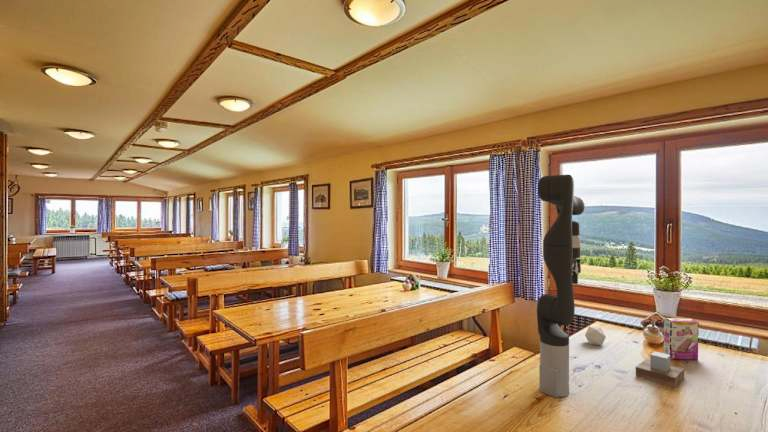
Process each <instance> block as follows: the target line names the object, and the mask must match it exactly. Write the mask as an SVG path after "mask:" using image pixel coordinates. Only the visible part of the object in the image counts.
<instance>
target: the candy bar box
mask: <svg viewBox="0 0 768 432" xmlns="http://www.w3.org/2000/svg"><path fill="white" fill-rule="evenodd" d="M699 325H700V324H699V321H697V320H695V319H693V318H680V317H679V318H677V317H676V318H675V317H663V342H662V343H663V349H662V351H663V352H662V353H664V354H668V355H670V360H687V361H690V360H691V361H698V360H699Z"/></svg>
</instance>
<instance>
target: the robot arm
mask: <svg viewBox="0 0 768 432" xmlns="http://www.w3.org/2000/svg"><path fill="white" fill-rule="evenodd" d="M574 194H575V181H574V177H573V175H572V174H554V175H544V176H542V177H540V179H539V180H538V183H537V195H538V197H539V199H540V200H541V201H542V202H546V203H550V204H551V205H554V206H555V209H556V213H557V215H558V216H557V217H556V219H555V221H554V222H553V223H552V225H551V226H550V228H549V229H548V231H547V232H546V233H545V235H544V237H543V240H542V242H543V243H542V251H543V252H542V257H543V260H544V264H545V265H546V267H547V269H548V271H549V273H550V275H551V277H552V279H553V281H554V284H555V288H556V295H554V294H546V293H545V294H542V295H541V296H540V297H539V298H538V301H537V305H536V319H537V332H538V335H539V392H540V393H542V394H546V395H548V396H550V397H553V398H556V399H558V398H565V397H568V396H569V395H570V337H569V335H568V333H567V332H565V331H564V330H562V329H561V328H560V326H566V327H567V326H569V325H571V324H572V322H573V321H574V318H575V311H576V309H575V296H574V287H573V286H574V285H577V284H578V283H579V275H580V274H581V272H582V268H581V259H580V258H581V236H580V222H578V221H576V220H573V216H580V215H582V214H583V213H584V211H585V202H584V200H583V199H582V198H581V197H578V196H576V195H574ZM559 325H560V326H559Z"/></svg>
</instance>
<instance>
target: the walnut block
mask: <svg viewBox="0 0 768 432" xmlns="http://www.w3.org/2000/svg"><path fill="white" fill-rule="evenodd" d="M636 376H637V378H641V379H643V378H644V379H643V380H647V381H650V382H654V383H657V384H661V385H665V386H668V387H671V388H674V389H675V388H676V387H678V385H679V384H680V383H681V382H682V381H683V380H684V379H685V368H682V367H679V366H675V365H671V364H670V369H669V370H668V371H667V372H664V371H661V370H657V369H653V368H650V359H648V358H646V359H644V360H643V361H641V362H640V363H639V364H638V365H636V366H635V377H636Z"/></svg>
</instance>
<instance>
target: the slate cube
mask: <svg viewBox="0 0 768 432" xmlns="http://www.w3.org/2000/svg"><path fill="white" fill-rule="evenodd" d="M649 355H650V358H649V360H650V368H653V369H657V370H661V371H664V372H667V371H668V370H669V369H670V365H671V359H670V355H668V354H664V353H663V352H658V351H654V350H653V352H651V353H650V354H649Z"/></svg>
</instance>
